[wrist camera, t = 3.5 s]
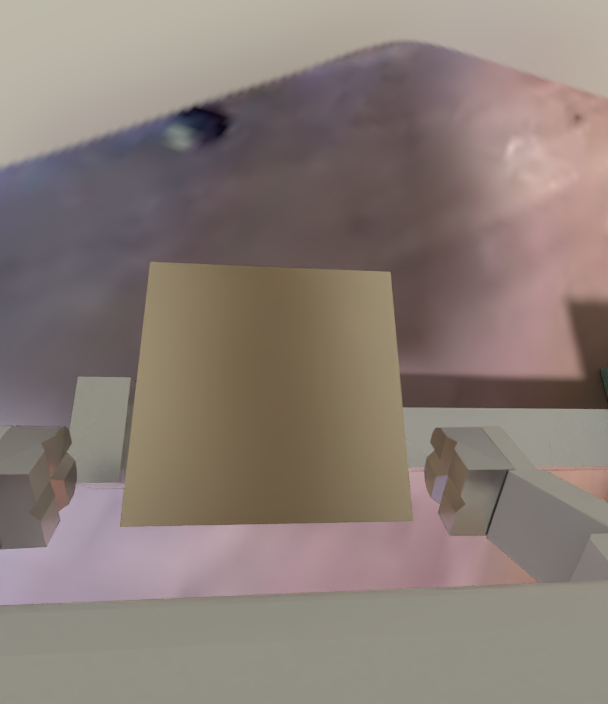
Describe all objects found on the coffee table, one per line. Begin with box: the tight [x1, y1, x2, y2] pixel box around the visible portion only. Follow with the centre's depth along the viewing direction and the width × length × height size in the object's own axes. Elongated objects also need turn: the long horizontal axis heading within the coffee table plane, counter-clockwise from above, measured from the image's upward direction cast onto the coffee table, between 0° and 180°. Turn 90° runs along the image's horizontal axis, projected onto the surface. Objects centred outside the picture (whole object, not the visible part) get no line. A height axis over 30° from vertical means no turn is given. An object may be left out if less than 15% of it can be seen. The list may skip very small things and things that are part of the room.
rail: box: [67, 366, 608, 488], centre depth 15 cm, size 22×6×3 cm, turn 91°
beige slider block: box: [120, 262, 413, 527], centre depth 12 cm, size 5×5×8 cm
